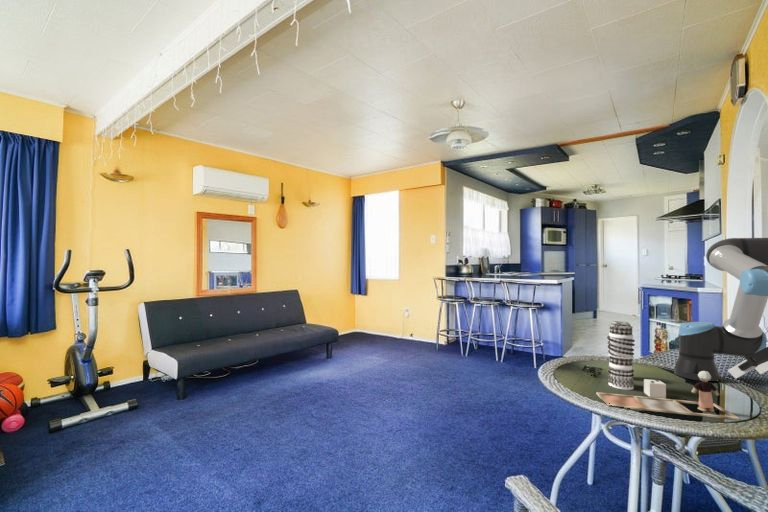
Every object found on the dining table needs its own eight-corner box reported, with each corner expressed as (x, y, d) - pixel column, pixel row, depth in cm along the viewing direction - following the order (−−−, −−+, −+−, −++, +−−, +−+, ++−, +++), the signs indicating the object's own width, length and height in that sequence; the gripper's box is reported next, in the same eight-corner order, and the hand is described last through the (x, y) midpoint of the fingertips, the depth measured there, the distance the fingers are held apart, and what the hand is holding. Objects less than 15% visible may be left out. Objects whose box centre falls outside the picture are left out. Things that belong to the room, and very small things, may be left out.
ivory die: (659, 393, 136) (659, 378, 136) (666, 398, 131) (665, 382, 131) (643, 392, 137) (643, 377, 137) (649, 397, 132) (649, 381, 132)
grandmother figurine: (710, 407, 123) (710, 369, 123) (721, 412, 119) (721, 372, 119) (688, 407, 123) (687, 369, 123) (698, 412, 119) (697, 372, 119)
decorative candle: (611, 388, 141) (611, 323, 141) (604, 381, 150) (604, 319, 150) (638, 391, 138) (638, 324, 139) (629, 383, 147) (629, 321, 148)
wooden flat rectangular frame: (714, 405, 125) (714, 403, 125) (739, 420, 113) (739, 418, 113) (596, 393, 135) (596, 392, 135) (607, 406, 122) (607, 404, 122)
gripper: (808, 346, 91) (732, 388, 104) (853, 340, 100) (778, 379, 113) (778, 321, 96) (709, 364, 109) (824, 317, 105) (755, 358, 118)
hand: (744, 372), depth 111 cm, fingers open, 13 cm apart
